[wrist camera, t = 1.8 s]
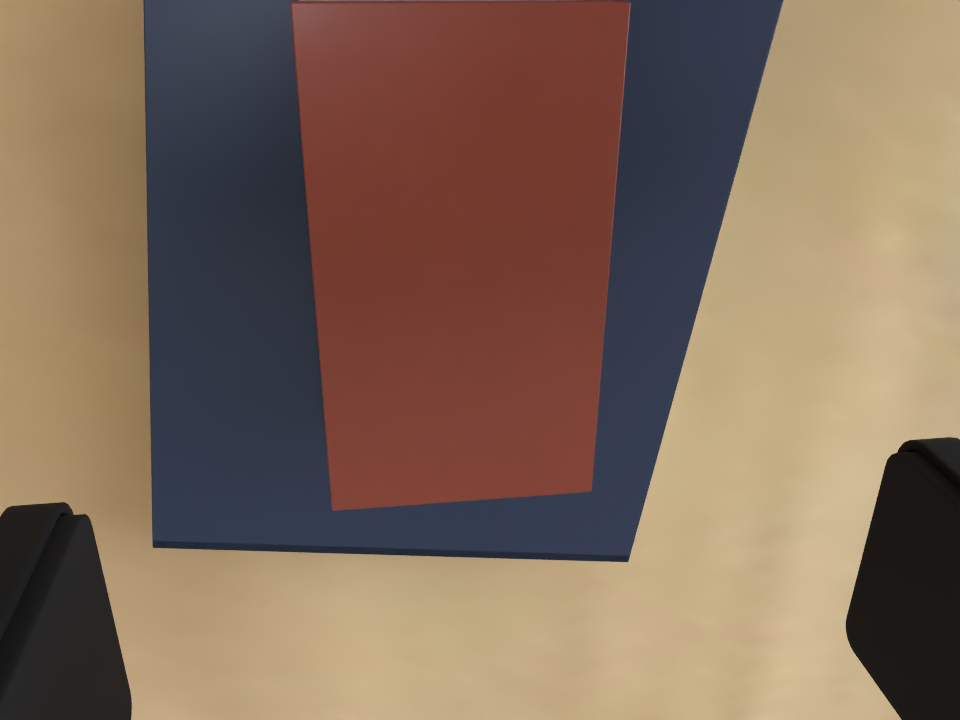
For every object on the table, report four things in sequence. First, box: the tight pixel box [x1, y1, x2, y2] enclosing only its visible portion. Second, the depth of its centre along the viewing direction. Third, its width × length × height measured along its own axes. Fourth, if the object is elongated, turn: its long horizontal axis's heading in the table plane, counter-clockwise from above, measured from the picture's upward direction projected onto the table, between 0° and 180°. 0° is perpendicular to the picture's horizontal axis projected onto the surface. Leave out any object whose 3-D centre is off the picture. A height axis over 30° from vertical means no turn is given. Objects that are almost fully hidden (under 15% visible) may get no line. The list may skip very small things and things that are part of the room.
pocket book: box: [290, 0, 631, 511], centre depth 20 cm, size 6×11×4 cm, turn 179°
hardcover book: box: [144, 0, 783, 562], centre depth 23 cm, size 14×20×3 cm
